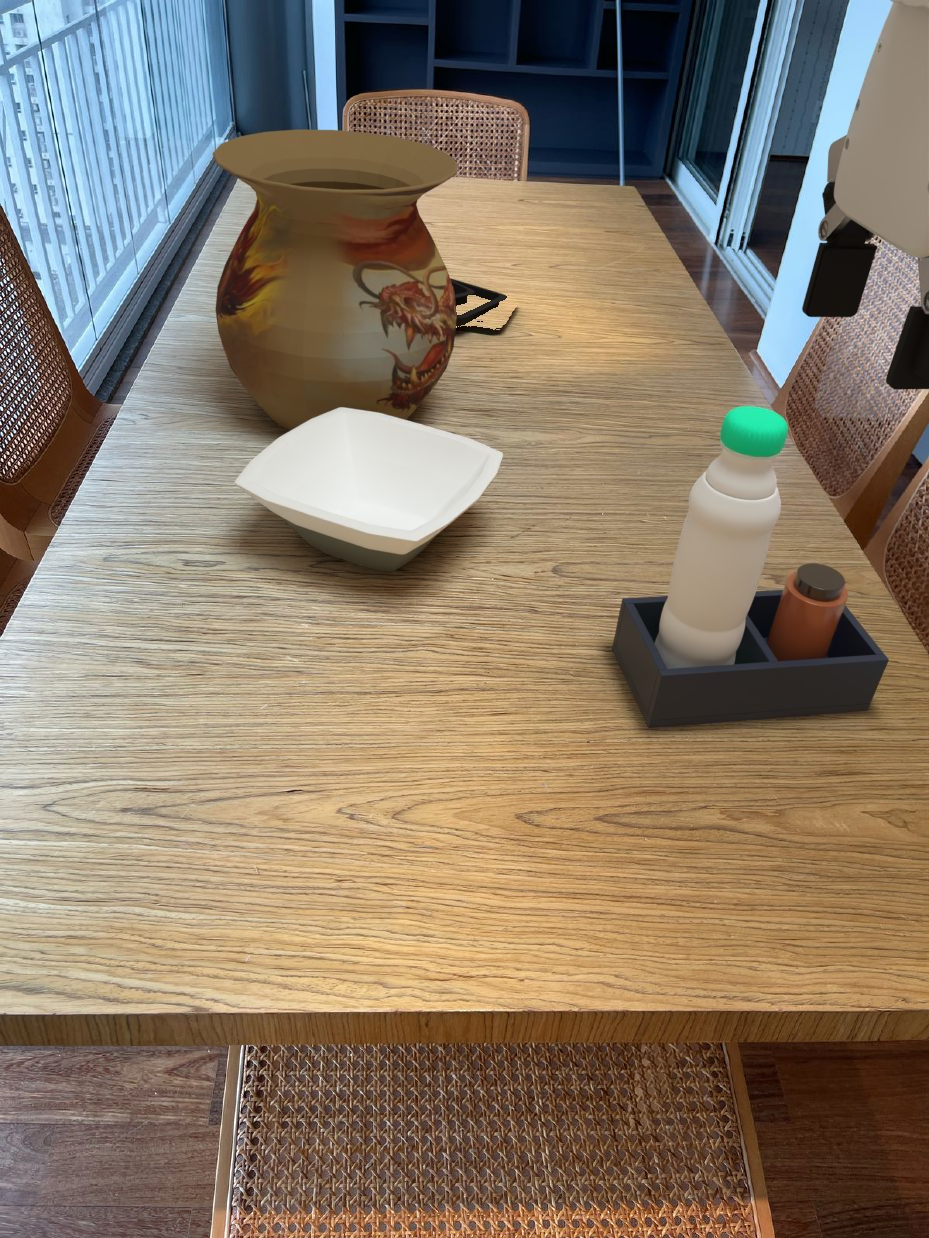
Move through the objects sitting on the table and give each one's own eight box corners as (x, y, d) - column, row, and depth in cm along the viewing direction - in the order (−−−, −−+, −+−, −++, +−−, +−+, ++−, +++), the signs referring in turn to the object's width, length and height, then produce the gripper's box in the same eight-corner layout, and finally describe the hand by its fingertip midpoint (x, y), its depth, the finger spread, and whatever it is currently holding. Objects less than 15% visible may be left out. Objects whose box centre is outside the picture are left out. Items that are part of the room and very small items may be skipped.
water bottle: (650, 642, 92) (710, 389, 77) (728, 656, 91) (803, 403, 76) (646, 692, 86) (709, 429, 71) (728, 707, 86) (810, 444, 70)
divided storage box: (611, 650, 93) (622, 598, 89) (813, 637, 96) (831, 586, 93) (648, 729, 84) (662, 675, 81) (867, 711, 88) (889, 659, 85)
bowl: (334, 465, 117) (333, 398, 111) (514, 520, 110) (522, 451, 105) (219, 555, 100) (212, 481, 95) (422, 627, 93) (426, 551, 88)
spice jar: (802, 648, 93) (834, 557, 87) (828, 685, 89) (864, 592, 83) (750, 652, 92) (779, 560, 86) (774, 689, 88) (806, 596, 82)
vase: (441, 471, 117) (458, 204, 99) (196, 448, 117) (169, 178, 99) (457, 371, 140) (474, 140, 122) (253, 353, 140) (239, 119, 122)
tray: (520, 298, 166) (523, 266, 162) (516, 352, 147) (519, 318, 144) (340, 281, 166) (340, 249, 163) (313, 333, 148) (312, 298, 144)
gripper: (1211, -1, 37) (1027, 419, 48) (958, -41, 51) (857, 293, 61) (1032, -13, 36) (883, 422, 46) (821, -51, 50) (742, 292, 60)
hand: (868, 348), depth 54 cm, fingers open, 9 cm apart
